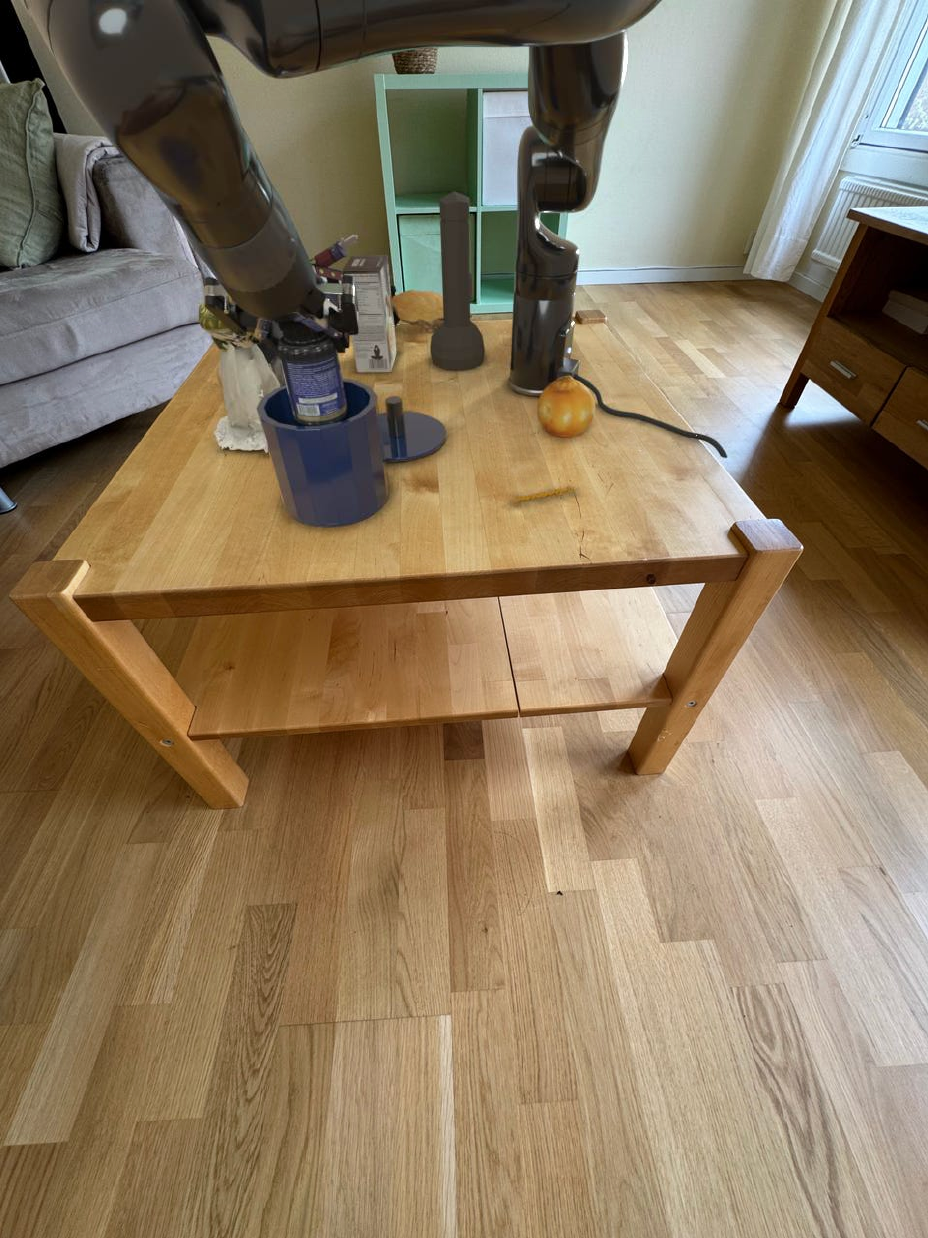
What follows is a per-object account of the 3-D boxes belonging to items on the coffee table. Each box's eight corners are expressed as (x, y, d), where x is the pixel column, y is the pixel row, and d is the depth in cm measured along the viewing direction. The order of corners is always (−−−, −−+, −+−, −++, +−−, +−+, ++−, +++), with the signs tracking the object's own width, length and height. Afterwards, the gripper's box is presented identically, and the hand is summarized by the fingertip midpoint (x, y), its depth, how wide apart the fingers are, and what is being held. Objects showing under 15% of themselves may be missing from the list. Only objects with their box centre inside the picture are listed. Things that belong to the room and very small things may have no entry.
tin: (405, 479, 75) (396, 386, 67) (357, 536, 67) (339, 438, 58) (319, 462, 79) (299, 371, 70) (263, 514, 70) (232, 418, 61)
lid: (460, 426, 86) (459, 386, 82) (422, 473, 77) (419, 430, 72) (376, 412, 90) (371, 373, 85) (330, 455, 80) (322, 413, 76)
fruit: (517, 416, 83) (549, 373, 77) (544, 400, 88) (575, 359, 82) (556, 457, 83) (591, 417, 77) (580, 438, 88) (615, 400, 82)
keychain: (574, 490, 72) (571, 494, 73) (571, 483, 72) (568, 487, 73) (516, 502, 70) (515, 506, 71) (514, 495, 70) (512, 499, 71)
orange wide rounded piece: (480, 332, 117) (455, 302, 120) (485, 313, 114) (460, 282, 117) (407, 344, 110) (383, 312, 113) (411, 324, 106) (386, 291, 109)
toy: (428, 315, 108) (282, 284, 88) (390, 351, 117) (251, 331, 97) (407, 245, 108) (257, 198, 88) (372, 287, 117) (229, 253, 97)
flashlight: (436, 373, 100) (491, 367, 101) (427, 198, 82) (494, 194, 83) (426, 353, 107) (477, 347, 108) (416, 187, 89) (477, 183, 90)
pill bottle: (359, 415, 65) (343, 310, 57) (315, 434, 62) (292, 326, 54) (326, 400, 68) (307, 298, 60) (283, 417, 65) (257, 312, 57)
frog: (199, 436, 84) (148, 300, 71) (270, 405, 91) (236, 276, 78) (247, 462, 79) (201, 320, 66) (319, 427, 86) (291, 292, 72)
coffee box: (363, 353, 107) (350, 254, 95) (397, 353, 107) (388, 253, 95) (356, 373, 100) (341, 269, 89) (392, 373, 100) (381, 269, 89)
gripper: (340, 192, 44) (377, 309, 61) (157, 195, 45) (244, 310, 61) (340, 288, 44) (377, 379, 61) (158, 291, 45) (244, 380, 61)
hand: (310, 344), depth 61 cm, fingers closed on pill bottle, 6 cm apart
